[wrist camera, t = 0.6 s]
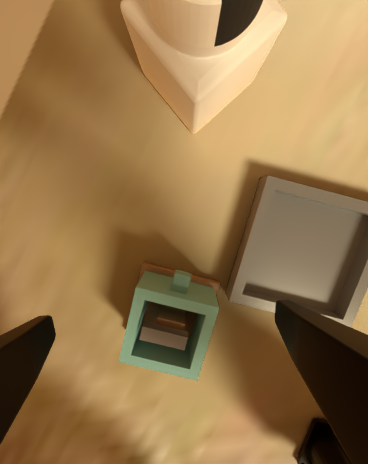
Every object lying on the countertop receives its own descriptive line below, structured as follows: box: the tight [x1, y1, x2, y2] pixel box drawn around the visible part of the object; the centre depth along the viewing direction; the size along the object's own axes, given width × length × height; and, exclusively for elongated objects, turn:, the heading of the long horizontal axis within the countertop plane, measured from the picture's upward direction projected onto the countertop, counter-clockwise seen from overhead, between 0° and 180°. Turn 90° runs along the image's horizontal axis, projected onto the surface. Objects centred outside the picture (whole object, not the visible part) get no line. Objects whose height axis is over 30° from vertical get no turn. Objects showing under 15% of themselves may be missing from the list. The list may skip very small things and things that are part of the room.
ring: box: [119, 269, 219, 381], centre depth 20 cm, size 9×7×4 cm
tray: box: [225, 176, 368, 327], centre depth 21 cm, size 12×12×2 cm
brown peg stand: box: [137, 262, 220, 350], centre depth 20 cm, size 8×8×5 cm
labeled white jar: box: [120, 0, 287, 134], centre depth 13 cm, size 7×7×12 cm
